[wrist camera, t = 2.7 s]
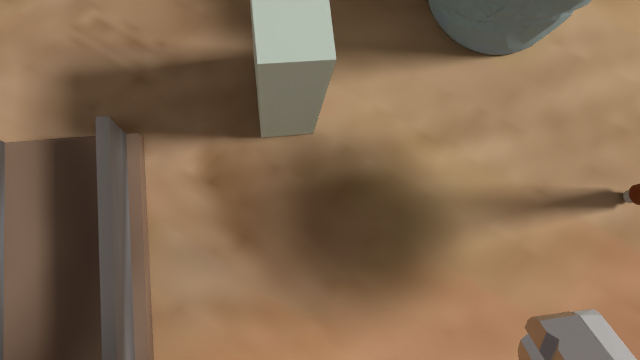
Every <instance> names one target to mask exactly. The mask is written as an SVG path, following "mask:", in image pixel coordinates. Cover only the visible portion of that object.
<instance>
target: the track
mask: <svg viewBox="0 0 640 360" xmlns="http://www.w3.org/2000/svg"><path fill="white" fill-rule="evenodd" d="M95 124H96V136H89V137H76V138H62V139H49V140H35V141H22V142H8V143H4V142H2V141H0V360H154V358H153V337H152V315H151V294H150V272H149V250H148V229H147V207H146V186H145V164H144V142H143V137H142V136H141V135H140V134H139V133H130V134H126V133H125V132H124V131H123V130H122V129H121V128H120V127H119V126H118V125H117V124H116V123H115V122H114V121H113V120H112V119H111V118H110V117H109V116H100V117H95Z"/></svg>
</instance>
